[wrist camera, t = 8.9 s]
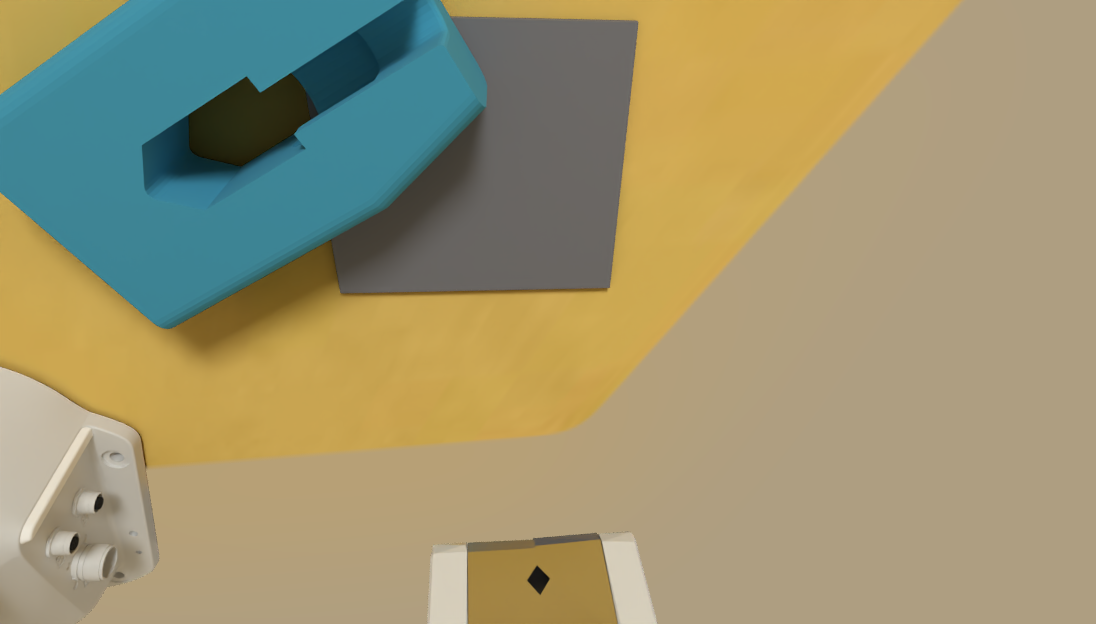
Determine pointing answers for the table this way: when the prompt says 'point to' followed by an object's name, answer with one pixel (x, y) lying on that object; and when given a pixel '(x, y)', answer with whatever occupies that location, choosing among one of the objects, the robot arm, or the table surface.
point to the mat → (513, 171)
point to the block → (215, 187)
